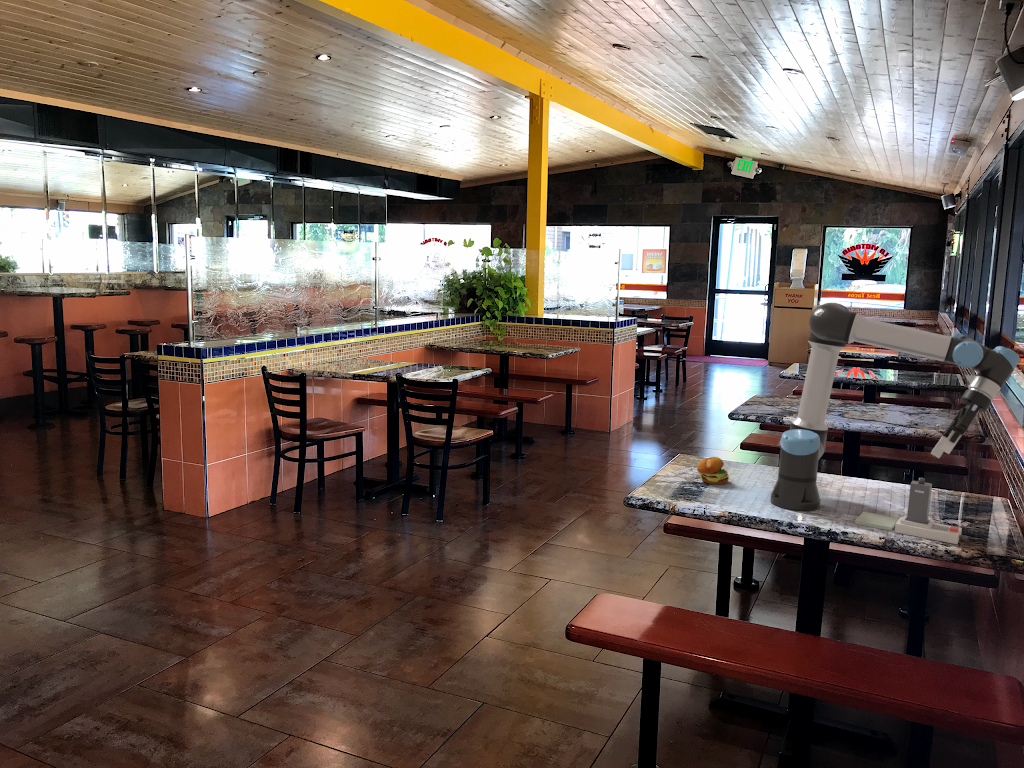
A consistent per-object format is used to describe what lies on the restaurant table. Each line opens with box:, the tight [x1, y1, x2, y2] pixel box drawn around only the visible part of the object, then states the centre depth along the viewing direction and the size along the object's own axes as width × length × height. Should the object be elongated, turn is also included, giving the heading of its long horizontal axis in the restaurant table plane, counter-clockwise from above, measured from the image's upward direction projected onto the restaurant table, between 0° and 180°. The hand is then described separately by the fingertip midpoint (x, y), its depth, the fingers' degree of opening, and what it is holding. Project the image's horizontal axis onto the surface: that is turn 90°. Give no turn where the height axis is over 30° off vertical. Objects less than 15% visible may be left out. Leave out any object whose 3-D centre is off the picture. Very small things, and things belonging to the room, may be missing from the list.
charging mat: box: [854, 511, 900, 531], centre depth 237 cm, size 10×12×1 cm
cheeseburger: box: [696, 456, 730, 486], centre depth 279 cm, size 10×11×10 cm
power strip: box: [894, 514, 969, 545], centre depth 227 cm, size 18×9×4 cm, turn 55°
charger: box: [906, 477, 933, 524], centre depth 228 cm, size 5×4×14 cm
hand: (939, 453), depth 236 cm, fingers open, 13 cm apart
